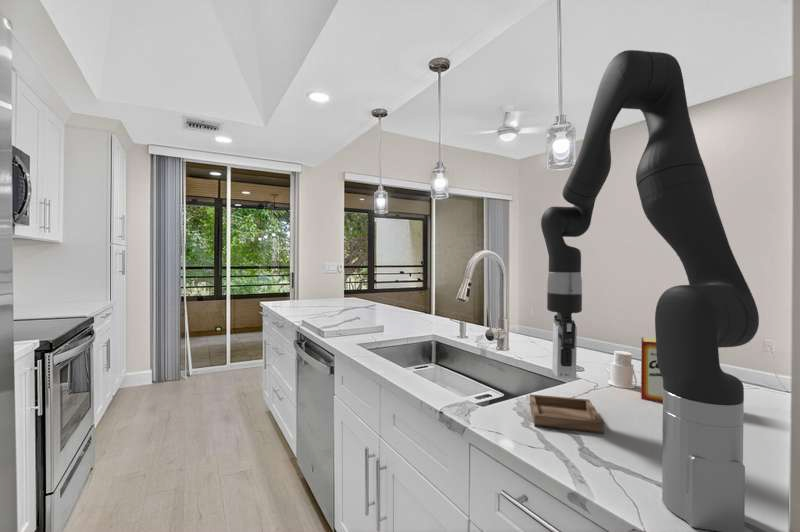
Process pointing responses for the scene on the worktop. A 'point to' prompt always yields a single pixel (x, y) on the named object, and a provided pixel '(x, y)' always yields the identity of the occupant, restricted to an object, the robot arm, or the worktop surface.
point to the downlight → (622, 370)
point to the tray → (565, 414)
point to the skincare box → (556, 359)
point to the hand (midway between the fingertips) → (563, 362)
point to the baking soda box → (650, 371)
